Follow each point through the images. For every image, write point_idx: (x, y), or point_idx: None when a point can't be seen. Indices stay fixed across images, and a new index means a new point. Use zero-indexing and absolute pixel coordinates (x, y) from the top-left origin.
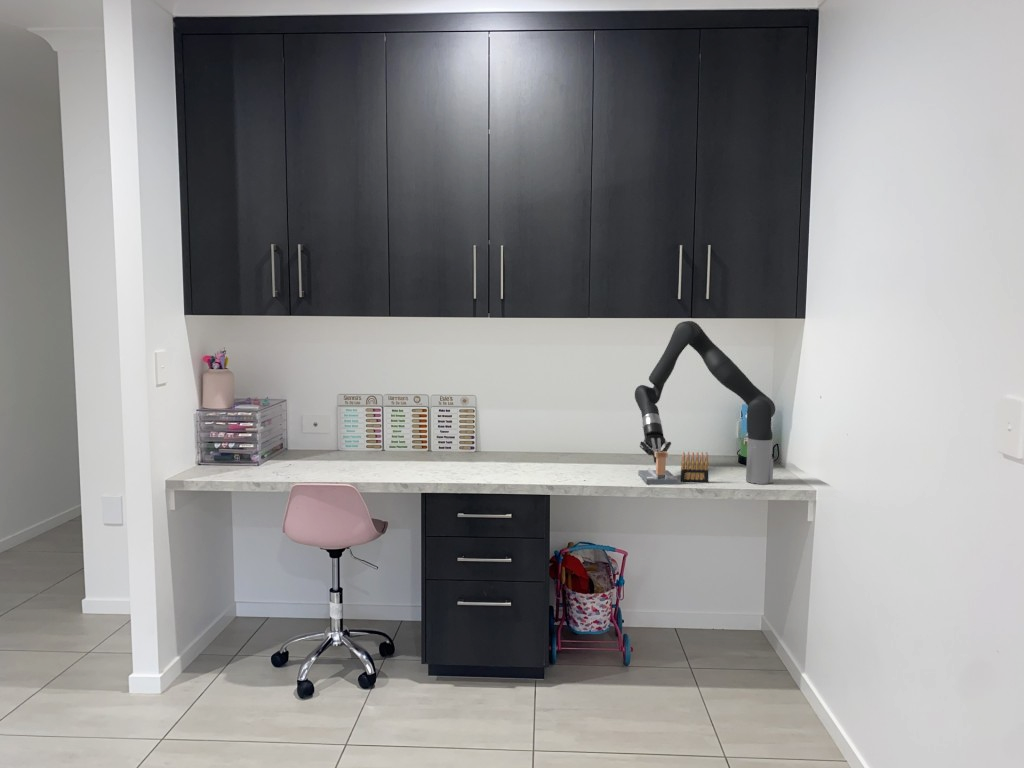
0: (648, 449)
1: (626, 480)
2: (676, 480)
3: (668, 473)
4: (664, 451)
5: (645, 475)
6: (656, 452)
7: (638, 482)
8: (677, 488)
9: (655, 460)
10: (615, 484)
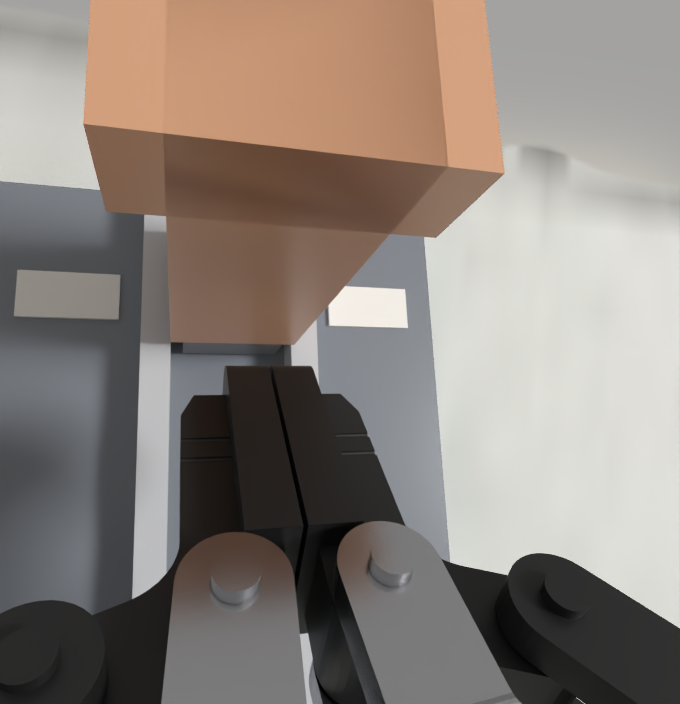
0: (657, 640)
1: (581, 438)
2: (13, 191)
3: (7, 600)
4: (145, 126)
5: (409, 432)
6: (466, 18)
7: (470, 342)
8: (82, 35)
9: (339, 401)
10: (673, 269)
